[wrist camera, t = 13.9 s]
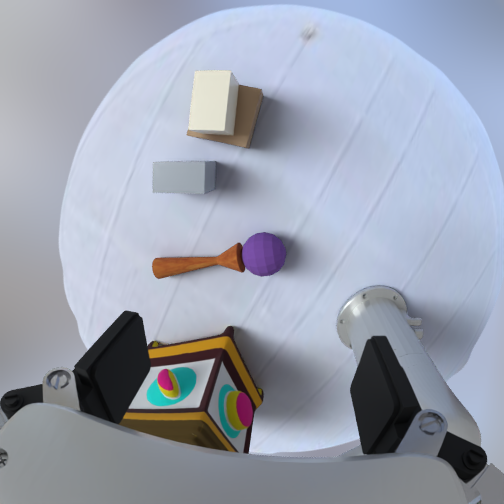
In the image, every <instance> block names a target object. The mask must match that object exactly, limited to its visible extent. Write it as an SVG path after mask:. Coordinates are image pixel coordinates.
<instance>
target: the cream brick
mask: <svg viewBox="0 0 504 504" xmlns="http://www.w3.org/2000/svg"><path fill="white" fill-rule="evenodd" d="M238 89H239V83H238V82H237V80H236V78H235V76H234V75H233V73H232V71H229V70H208V71H195V76H194V83H193V91H192V99H191V108H190V117H189V127H188V130H191V131H194V132H198V133H201V134H216V135H234V127H235V117H236V107H237V98H238Z"/></svg>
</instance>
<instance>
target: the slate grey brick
mask: <svg viewBox="0 0 504 504" xmlns="http://www.w3.org/2000/svg"><path fill="white" fill-rule="evenodd" d="M215 181H216V161H166V162H153V193H187V194H205V193H208V192H210V191H212V190H214V189H215Z"/></svg>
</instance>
